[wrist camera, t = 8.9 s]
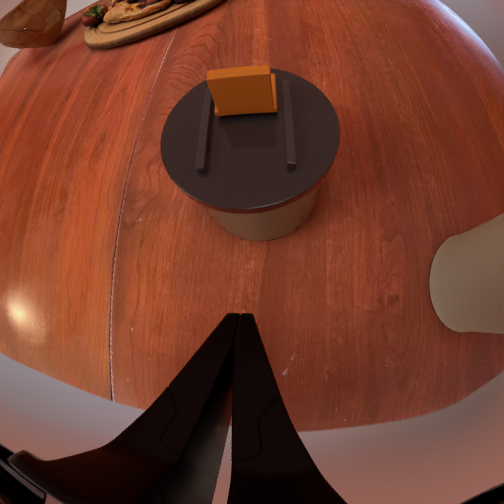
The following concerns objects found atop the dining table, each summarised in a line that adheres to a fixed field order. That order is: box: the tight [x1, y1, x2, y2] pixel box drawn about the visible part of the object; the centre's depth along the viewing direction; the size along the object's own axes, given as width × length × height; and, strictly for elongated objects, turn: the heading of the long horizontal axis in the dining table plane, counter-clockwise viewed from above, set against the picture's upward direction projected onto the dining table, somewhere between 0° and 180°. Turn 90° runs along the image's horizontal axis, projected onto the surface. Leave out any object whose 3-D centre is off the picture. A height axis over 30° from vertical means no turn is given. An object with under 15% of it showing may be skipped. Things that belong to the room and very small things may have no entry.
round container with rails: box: [161, 68, 340, 241], centre depth 19 cm, size 11×11×9 cm
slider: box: [206, 65, 277, 116], centre depth 13 cm, size 3×4×3 cm
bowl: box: [0, 0, 67, 49], centre depth 29 cm, size 21×20×20 cm
